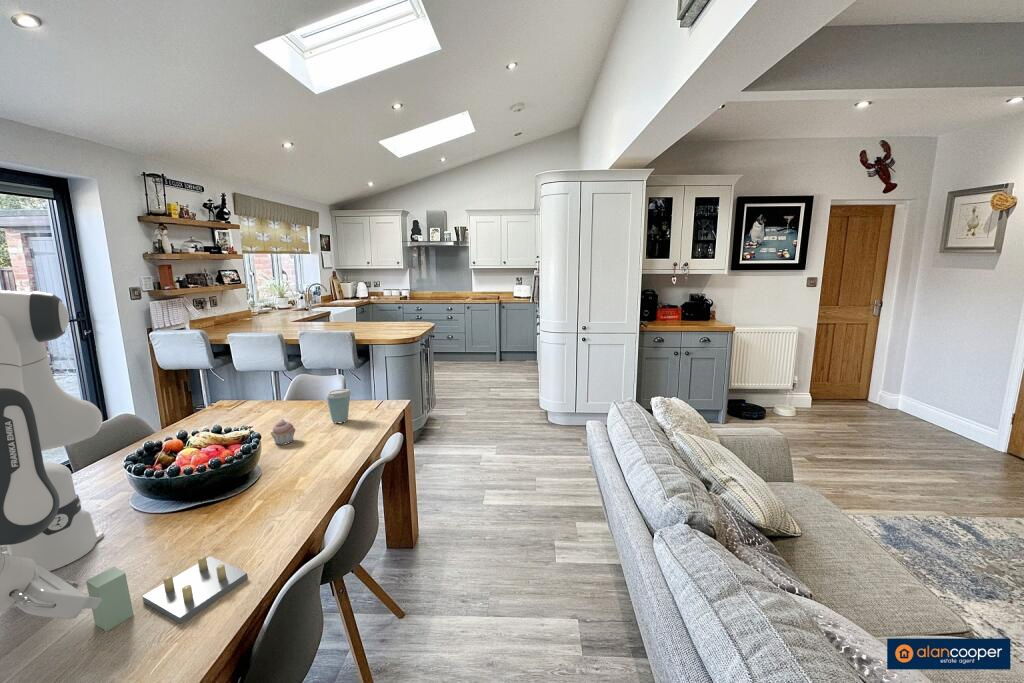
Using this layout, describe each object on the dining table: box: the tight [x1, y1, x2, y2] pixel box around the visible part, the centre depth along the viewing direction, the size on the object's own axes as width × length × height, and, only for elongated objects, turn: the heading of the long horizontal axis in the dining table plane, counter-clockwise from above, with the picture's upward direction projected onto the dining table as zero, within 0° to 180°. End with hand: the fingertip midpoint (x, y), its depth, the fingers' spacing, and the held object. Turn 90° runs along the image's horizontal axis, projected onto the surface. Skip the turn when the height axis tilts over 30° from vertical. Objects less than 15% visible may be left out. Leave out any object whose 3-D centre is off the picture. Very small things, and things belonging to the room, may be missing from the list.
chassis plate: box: [141, 555, 249, 625], centre depth 95 cm, size 14×14×4 cm
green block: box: [85, 566, 135, 632], centre depth 87 cm, size 4×4×10 cm
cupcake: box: [270, 418, 297, 445], centre depth 175 cm, size 9×9×10 cm
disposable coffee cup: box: [325, 388, 352, 424], centre depth 197 cm, size 11×11×15 cm
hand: (85, 595), depth 83 cm, fingers open, 8 cm apart
